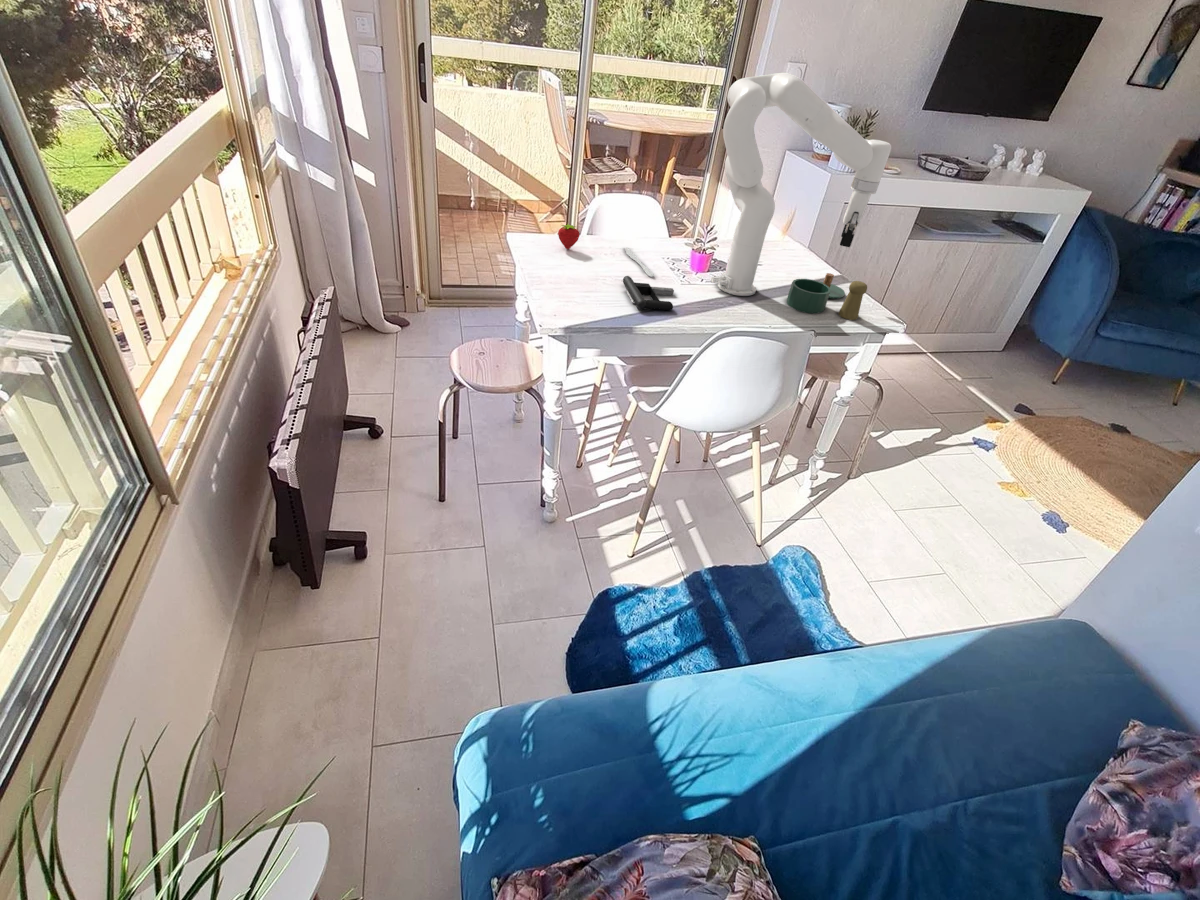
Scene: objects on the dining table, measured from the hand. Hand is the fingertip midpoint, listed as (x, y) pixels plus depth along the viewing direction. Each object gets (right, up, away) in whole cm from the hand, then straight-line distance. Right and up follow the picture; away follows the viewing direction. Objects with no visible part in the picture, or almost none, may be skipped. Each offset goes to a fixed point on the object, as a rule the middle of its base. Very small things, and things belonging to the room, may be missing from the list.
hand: (845, 241), depth 199 cm
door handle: (-63, -20, -7) cm, 66 cm away
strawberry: (-90, +4, +20) cm, 92 cm away
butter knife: (-65, -2, +17) cm, 67 cm away
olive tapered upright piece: (0, -24, -1) cm, 24 cm away
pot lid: (-2, -12, +13) cm, 18 cm away
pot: (-12, -20, +2) cm, 23 cm away
